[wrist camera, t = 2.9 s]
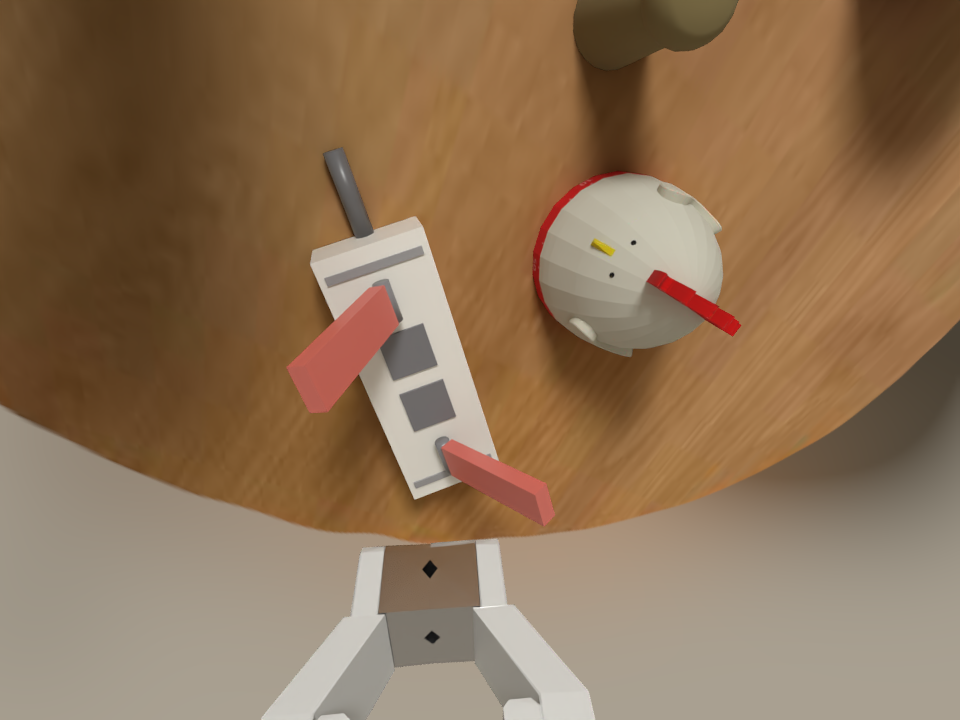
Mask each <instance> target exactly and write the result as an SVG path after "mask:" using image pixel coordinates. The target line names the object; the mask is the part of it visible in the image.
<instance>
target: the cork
mask: <svg viewBox="0 0 960 720" xmlns="http://www.w3.org/2000/svg"><path fill="white" fill-rule="evenodd" d="M737 3H738V0H578V1H577V5H576V9H575V12H574V25H573V32H574V36H575V40H576V44H577V47H578V49H579V50H580V52H581V54H582V56H583V57H584V59H586V60H587V61H588V62H589V63H590V64H591V65H592V66H594V67H596V68H599V69H602V70H618V69H620V68H622V67H624V66H627V65H629V64H631V63H633V62H635V61H637V60H639V59H642V58H644V57H646V56H648V55H650V54H652V53H654V52H656V51H658V50H661V49H663V48H667V49H669V50H672V51H675V52H676V51H691V50H695V49H697V48H699V47H702V46H704V45H706V44H708V43H709V42H711V41H712V40H713V39H714V38H715V37H717V36H718V35H719V34H720V33H721V32H722V31H723V30H724V28H725V27H726V25H727V24H728V22H729V21H730V19H731V18H732V16H733V14H734V11H735V8H736V6H737Z"/></svg>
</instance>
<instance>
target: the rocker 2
mask: <svg viewBox="0 0 960 720" xmlns="http://www.w3.org/2000/svg"><path fill="white" fill-rule="evenodd" d="M435 446H436V448H437V451H438V453H439V456H440V458H441V461H442V464H443V466H444V469H445V471H446V473H448V474H451V475H452V476H453V477H455V478H457V479H459V480H460V481H462V482H464V483H466V484H468V485H469V486H471V487H473V488H475V489H477V490H479V491H480V492H482V493H484V494H486V495H488V496H489V497H491V498H493V499H495V500H497V501H499V502H500V503H502V504H504V505H506V506H508V507H509V508H511V509H513V510H515V511H517V512H518V513H520V514H522V515H524V516H526V517H528V518H529V519H531V520H533V521H535V522H537V523H538V524H540V525H542V526H545V525H546V524H547V523H548V522H549V521H550V520H551V519H552V518H553V517H554V516H555V513H554V510H553V506H552V503H551V499H550V495H549V492H548V488H547V484H546V483H544V482H542V481H540V480H538V479H535V478H533V477H531V476H529V475H527V474H525V473H523V472H521V471H519V470H516V469H514V468H512V467H510V466H508V465H506V464H504V463H502V462H499V461H497V460H495V459H493V458H491V457H489V456H487V455H485V454H482V453H480V452H478V451H476V450H474V449H472V448H470V447H468V446H466V445H463V444H461V443H459V442H457V441H455V440H453V439H451V440H450V441H449V438H448V437H446V436H442V437H439V438H438V439H436V441H435Z"/></svg>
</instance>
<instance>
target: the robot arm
mask: <svg viewBox="0 0 960 720" xmlns="http://www.w3.org/2000/svg"><path fill="white" fill-rule="evenodd" d="M464 661H475V664H476V665H477V667H478V669H479V670H480V672H481V674H482V675H483V677H484V678H485V680H486V681H487V683H488V685H489V686H490V688H491V689H492V691H493V693H494V694H495V696H496V697H497V699H498V700H499V702H500V704H501V705H502V707H503V720H595V716H594V712H593V708H592V704H591V700H590V695H589V691H588V690H587V689H586V688H585V687H584V685H583V684H582V683H581V682H580V681H579V680H578V679H577V677H576V676H575V675H574V674H573V673H572V671H571V670H570V669H569V668H568V667H567V666H566V664H565V663H564V662H563V661H562V660H561V659H560V658H559V656H558V655H557V654H556V653H555V652H554V651H553V649H552V648H551V647H550V646H549V645H548V643H547V642H546V641H545V640H544V639H543V638H542V637H541V635H540V634H539V633H538V632H537V631H536V630H535V629H534V627H533V626H532V625H531V624H530V623H529V621H528V620H527V619H526V618H525V617H524V616H523V614H521V612H520V611H519V610H518V609H517V607H516V606H515V605H507V599H506V591H505V584H504V576H503V568H502V560H501V552H500V544H499V541H498V539H484V540H465V541H452V542H440V543H431V544H420V545H396V546H379V547H378V546H377V547H363V548H362V550H361V552H360V557H359V562H358V569H357V576H356V582H355V589H354V596H353V602H352V609H351V615H350V617H343V618H342V619H341V621H340V622H339V623H338V624H337V626H336V627H335V628H334V629H333V631H332V632H331V633H330V634H329V636H328V637H327V638H326V639H325V640H324V642H323V643H322V644H321V645H320V647H319V648H318V649H317V650H316V651H315V653H314V654H313V655H312V656H311V658H310V659H309V660H308V661H307V663H306V664H305V665H304V666H303V667H302V669H301V670H300V671H299V672H298V674H297V675H296V676H295V677H294V678H293V680H292V681H291V682H290V683H289V685H288V686H287V687H286V688H285V690H284V691H283V692H282V693H281V694H280V696H279V697H278V698H277V699H276V701H275V702H274V703H273V704H272V705H271V707H270V708H269V709H268V710H267V712H266V713H265V714H264V715H263V717H262V718H261V720H366V719H367V717H368V715H369V714H370V712H371V710H372V708H373V707H374V705H375V703H376V702H377V700H378V698H379V697H380V695H381V693H382V691H383V690H384V688H385V686H386V684H387V683H388V681H389V679H390V677H391V676H392V674H393V672H394V670H395V669H394V667H403V666H411V665H421V664H430V663H445V662H464Z"/></svg>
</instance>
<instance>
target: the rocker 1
mask: <svg viewBox="0 0 960 720" xmlns="http://www.w3.org/2000/svg"><path fill="white" fill-rule="evenodd" d="M402 320H403V317H402V314H401V311H400V309H399V306H398V303H397V301H396V298H395V295H394V292H393V290H392V287H391V284H390V282H389V279H382V280H379V281H377V282H375V283H373V284H372V287H369V288H368V289H367V290H366V291H365V292H364V293H363V294H362V295H361V296H360V297H359V298H358V299H357V300H356V301H355V302H354V303H353V304H352V305H350V306H349V307H348V308H347V309H346V310H345V311H344V312H343V313H342V314H341V315H340V316H339V317H338V318H337V319H336V320H335V321H334V322H333V323H332V324H331V325H330V326H329V327H328V328H327V329H326V330H325V331H324V332H323V333H321V334H320V335H319V336H318V337H317V338H316V339H315V340H314V341H313V342H312V343H311V344H310V345H309V346H308V347H307V348H306V349H305V350H304V351H303V352H302V353H301V354H300V355H299V356H298V357H297V358H296V359H295V360H293V361H292V362H291V363H290V364H289V365H288V366H287V367H286V368H287V370H288V372H289V374H290V376H291V378H292V380H293V382H294V384H295V385H296V387H297V389H298V391H299V393H300V395H301V397H302V399H303V401H304V403H305V405H306V407H307V409H308V410H309V412H310V413H319V412H328V411H329V410H330V409H331V407H332V406H333V405H334V404H335V402H336V401H337V400H338V399H339V398H340V396H341V395H342V394H343V393H344V391H345V390H346V389H347V388H348V387H349V385H350V384H351V383H352V382H353V380H354V379H355V378H356V377H357V376H358V374H359V373H360V372H361V371H362V369H363V368H364V367H365V366H366V365H367V363H368V362H369V361H370V360H371V358H372V357H373V356H374V355H375V353H376V352H377V351H378V350H379V349H380V347H381V346H382V345H383V344H384V342H385V341H386V340H387V339H388V338H389V336H390V335H391V334H392V333H393V331H394V330H395V329H396V328H397V327H398V325H399V323H400V322H401V321H402Z"/></svg>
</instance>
